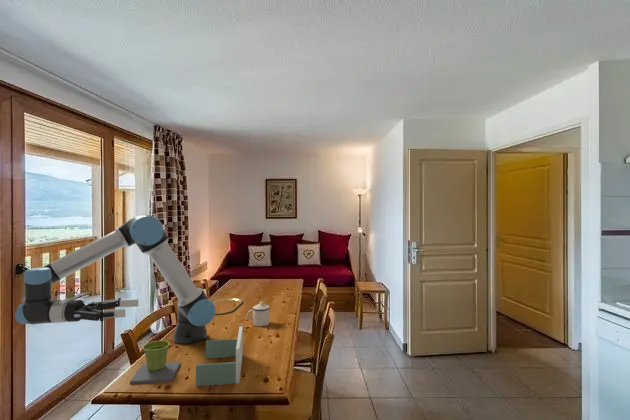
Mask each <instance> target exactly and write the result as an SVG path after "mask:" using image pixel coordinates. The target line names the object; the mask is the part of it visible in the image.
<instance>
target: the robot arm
mask: <svg viewBox="0 0 630 420" xmlns="http://www.w3.org/2000/svg"><path fill="white" fill-rule="evenodd" d="M169 239H170V237H169V236H168V235H167V232H166V231H165V229H164V226H163V224H162V222H161V220H160V219H158V217H156V216H154V215H150V214H140V215H136V216H133V217H132V218H130V219H129V220H127V221H126V222H124V223H122V224H121V225H119V226H117V227H116V228H115V229H114V231H112V232H110V233H108V234H106V235H104V236H102V237H100V238H98V239H96V240H94V241H91V242H90V243H87V244H85V245H84V246H82V247H80V248H77V249H76V250H74V251H72V252H70V253H67V254H65V255H63V256H62V257H60V258H57V259H56V260H53V261H52V262H50V263H48V264H46V265H44V266H41V267H34V268H28V269H26V270H25V271H24V275H23V282H24V283H23V285H24V302H22V303H20V304H19V305H18V306H17V308H16V311H15V312H14V313H15V314H14V315H15V316H14V317H15V320H16V322H17V323H18V324H20V325H39V324H52V323H53V324H58V323H59V324H60V323H71V322H72V323H73V322H74V323H76V322H80V321H81V320H84V321H85V320H86V321H92V322H93V321H95V322H98V321H99V322H103V321H104V319H116V318H126V309H125V308H132V307H134V308H135V307H139V298H135V299H134V298H133V299H122V298H121V297H118V298H115V299H108V300H100V301H92V302H90V303H89V302H88V303H87V304H85V302H84V301H83V300H82V299H71V300H62V299H60V298H59V299H58V300H52V285H54V284H56V283H57V282H59V281H61V280H63V279H65V278H66V277H68V276H70V275H72V274H74V273H76V272H78V271H79V270H82V269H83V268H85V267H87V266H90V265H91V264H93V263H95V262H97V261H99V260H101V259H103V258H105V257H107V256H108V255H110V254H112V253H114V252H116V251H119V250H120V249H122V248H124V247H127V248H129V247H131V246H132V245H136V246H137V247H138V249H139V251H140V252H141V253H142V254H145V255H148V256H149V258H150V259H151V260H152V262H153V263H154V265H155V266H156V268H157V270H158V271H159V273H161V275H162V277H163V278H164V280H165V281H166V283H167V284H168V286H169V287H170V288H171V290H172V292H173V293H174V294H175V296H176V298H177V300H176V301H177V303H176V304H177V308H176V309H177V314H176V315H177V317H176V318H177V324H176V325H175V326H176V327H175V330H174V333H173V338H172V339H173V342H174V343H177V344H181V345H182V344H185V345H187V344H195V343H199V342H201V341H204V340H205V339H207V337H208V329H207V327H206V325H209V323H211V321H212V320H213V319H214V317H215V313H216V306H215V304H213V302H214V301H212V300H210V299H209V297H208V296H207V294H206V293H205V291H204V289H203V288H201V287H197V286H196V284H195V283H194V280H192V278H191V276H190V275H189V274H188V272H187V271H186V269H185V267H184V266H183V265H182V263H181V262H180V259H178V256H177V255H176V254H175V252H174V250H173V249H172V247H171V246H170V245H169V243H168V242H169ZM114 308H117V309H114ZM118 308H119V309H118Z"/></svg>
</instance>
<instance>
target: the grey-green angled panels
mask: <svg viewBox="0 0 630 420" xmlns="http://www.w3.org/2000/svg"><path fill="white" fill-rule="evenodd" d="M243 328H244V327H243V326H239V329H238V334H237V338H227V339H226V338H224V339H209V340H208V339H207V340H205V359H218V358H235V361H231V362H228V361H227V362H215V363H214V362H213V363H199V364H198V363H197V364H195V387H202V386H203V387H205V386H215V385H217V386H219V385H230V384H240V379H241V371H242V363H243V340H244V339H243Z"/></svg>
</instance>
